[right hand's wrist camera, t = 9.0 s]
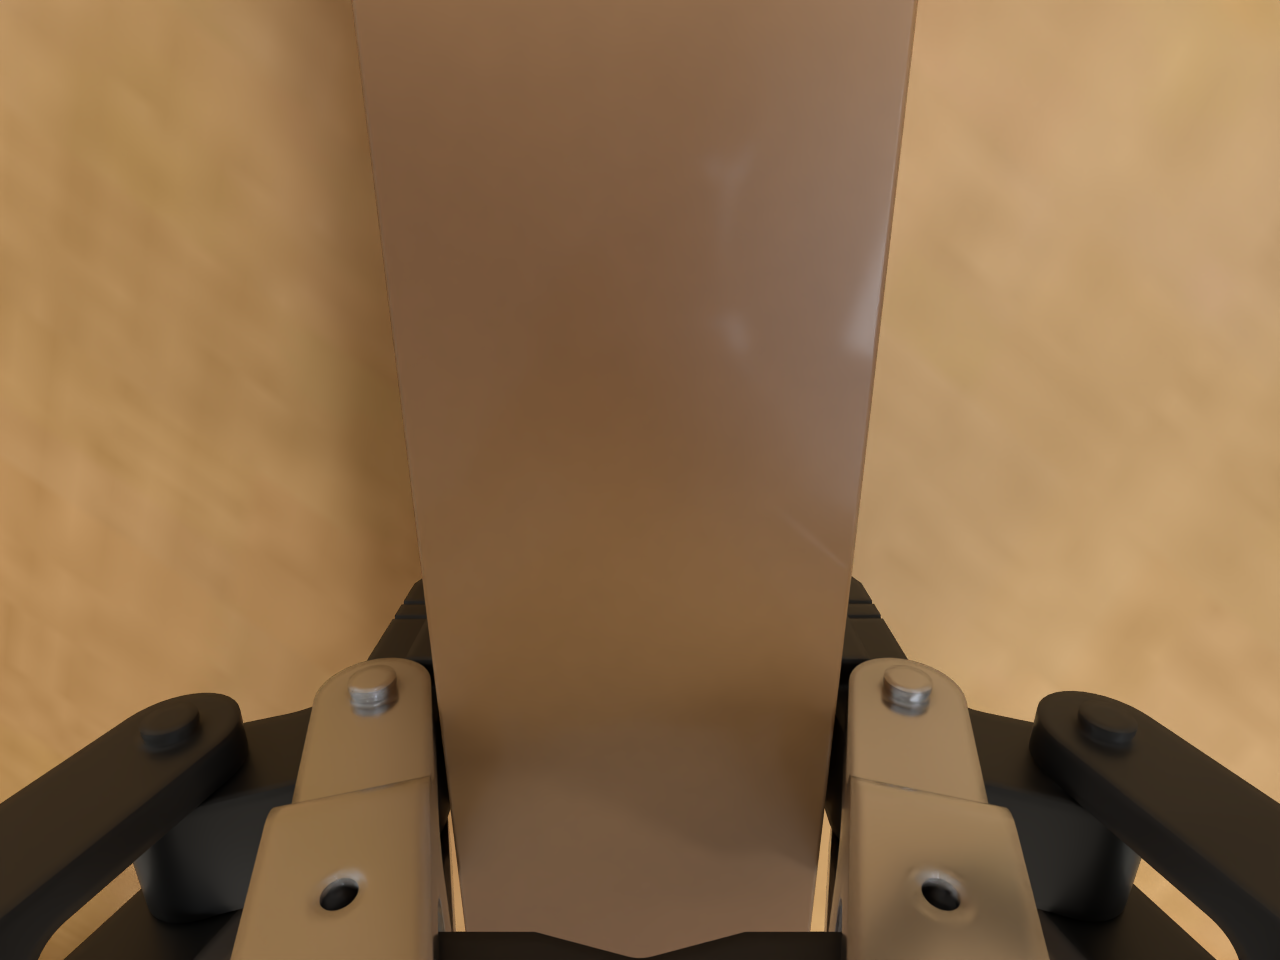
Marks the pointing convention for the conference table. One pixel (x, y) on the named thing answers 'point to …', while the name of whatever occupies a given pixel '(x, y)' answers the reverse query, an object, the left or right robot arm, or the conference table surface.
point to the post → (636, 431)
